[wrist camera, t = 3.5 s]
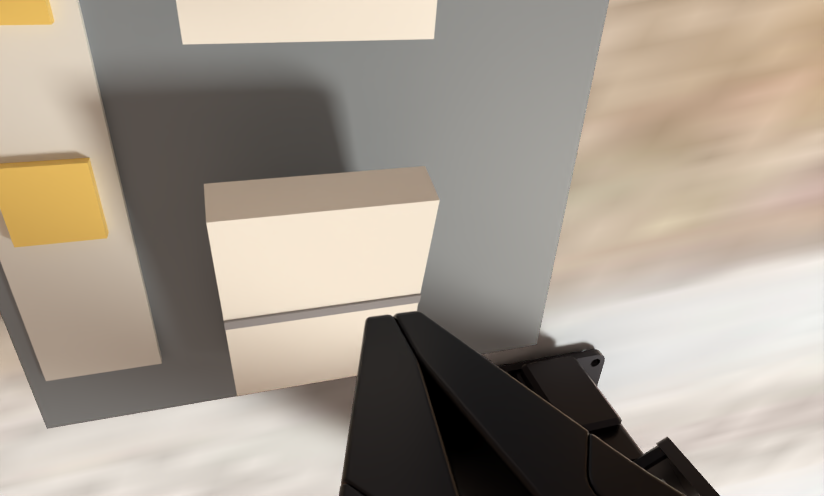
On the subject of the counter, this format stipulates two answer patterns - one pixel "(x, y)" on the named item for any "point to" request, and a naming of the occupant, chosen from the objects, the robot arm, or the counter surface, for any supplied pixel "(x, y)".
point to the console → (263, 176)
